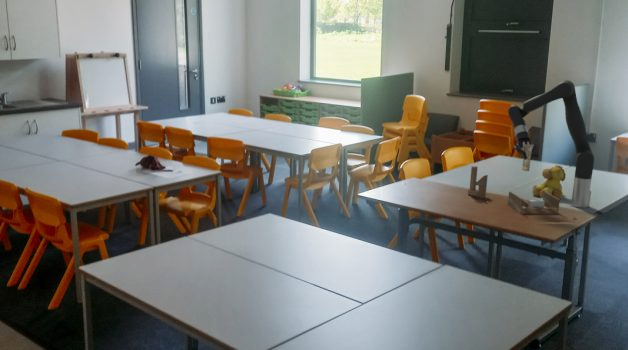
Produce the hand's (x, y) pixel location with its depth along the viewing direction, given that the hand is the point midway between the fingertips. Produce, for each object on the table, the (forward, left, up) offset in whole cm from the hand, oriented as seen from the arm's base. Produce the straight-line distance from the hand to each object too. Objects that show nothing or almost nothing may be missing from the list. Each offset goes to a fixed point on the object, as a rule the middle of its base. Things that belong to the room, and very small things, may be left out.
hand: (528, 158), depth 381 cm
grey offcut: (0, +16, -24) cm, 29 cm away
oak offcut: (0, +16, -27) cm, 31 cm away
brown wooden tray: (0, +12, -28) cm, 30 cm away
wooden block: (+21, -21, -28) cm, 41 cm away
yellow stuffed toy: (-27, -22, -28) cm, 45 cm away
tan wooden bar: (0, -2, -7) cm, 8 cm away
